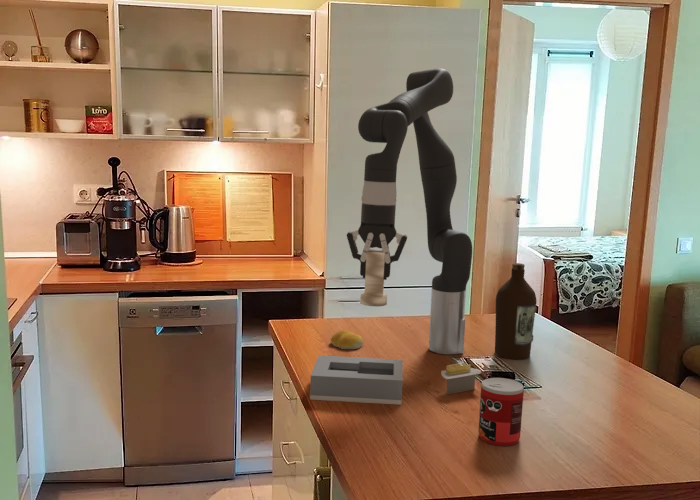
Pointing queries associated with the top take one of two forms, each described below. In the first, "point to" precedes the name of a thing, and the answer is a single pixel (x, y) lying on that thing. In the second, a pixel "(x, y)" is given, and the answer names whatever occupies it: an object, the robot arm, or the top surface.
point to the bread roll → (346, 340)
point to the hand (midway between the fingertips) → (374, 278)
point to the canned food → (500, 411)
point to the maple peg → (374, 279)
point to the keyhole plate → (357, 380)
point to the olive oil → (515, 316)
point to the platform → (460, 378)
